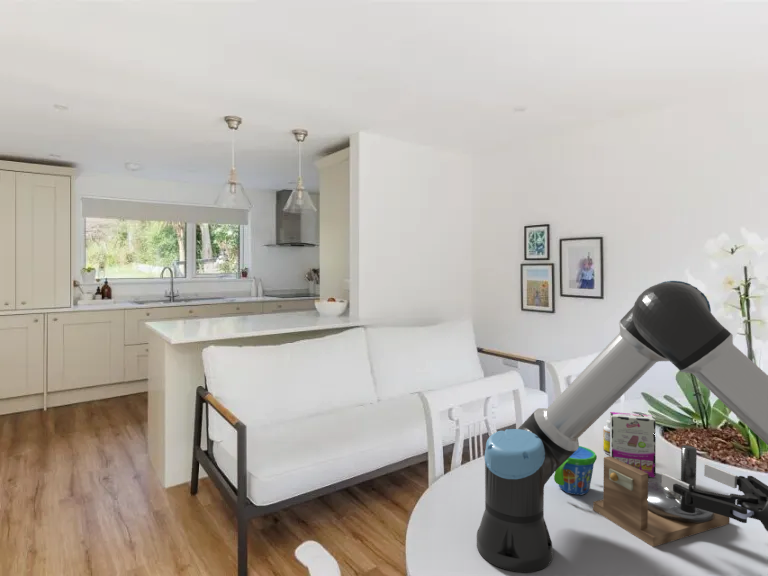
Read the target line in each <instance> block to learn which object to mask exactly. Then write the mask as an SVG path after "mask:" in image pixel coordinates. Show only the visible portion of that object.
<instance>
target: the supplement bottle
mask: <svg viewBox="0 0 768 576" xmlns="http://www.w3.org/2000/svg"><path fill="white" fill-rule="evenodd" d="M605 423H606V424H605V425H604V426H603V440H602V441H603V453H605V454H606V455H608V456H610V419H606V421H605Z"/></svg>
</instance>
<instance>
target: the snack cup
mask: <svg viewBox="0 0 768 576" xmlns="http://www.w3.org/2000/svg"><path fill="white" fill-rule="evenodd" d="M597 459H598V458H597V454H596V452H595V451H593V450H592V449H590V448H588V447H585V446H581V445H579V448H578V449H577V450H576V451H575V452H574V453H573V454H572V455H571V456H570V457H569V458H568V459H567V460H566V461H565V462H564V463H563V464H562V465H561V466H560V467H559V468H558V469H557V470H556V471H555V472H554V476H553V479H554V482H555V483H556V484H557V485H558V487H559V488H560V489H561V490H562V491H564V492H565V493H568V494H572V495H581V496H582V495H584V494H585V495H586V494H587V493H588V492H589V491H590V488H591V482H592V477H593V472H594V465H595V462H596V461H597Z"/></svg>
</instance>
